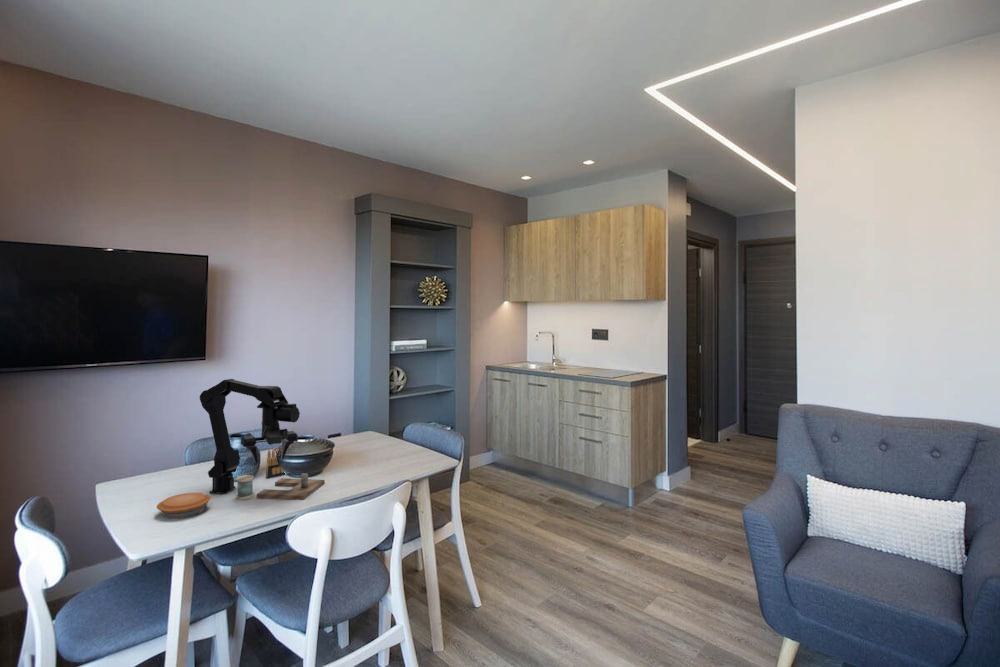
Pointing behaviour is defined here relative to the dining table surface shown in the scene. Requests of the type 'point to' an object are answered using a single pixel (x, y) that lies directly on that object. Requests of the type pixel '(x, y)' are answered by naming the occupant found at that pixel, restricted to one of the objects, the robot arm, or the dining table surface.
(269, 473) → the ammunition clip
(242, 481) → the thread spool
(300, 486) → the walnut notched board
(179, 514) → the pie
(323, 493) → the dining table surface
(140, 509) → the dining table surface
